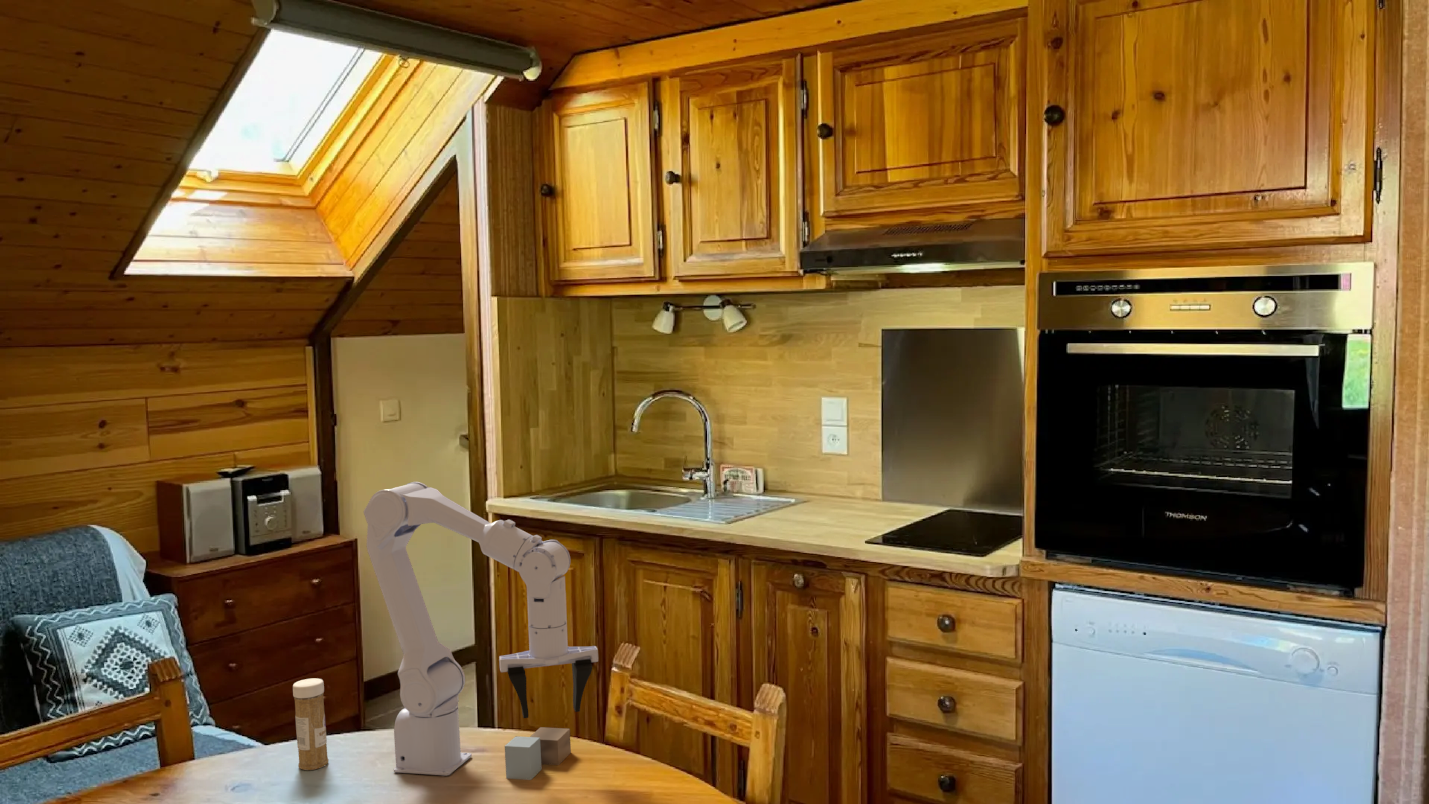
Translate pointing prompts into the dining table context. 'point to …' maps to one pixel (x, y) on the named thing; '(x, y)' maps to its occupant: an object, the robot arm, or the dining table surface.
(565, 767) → the dining table surface
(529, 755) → the slate block
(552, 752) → the walnut block
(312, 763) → the sprinkles bottle
